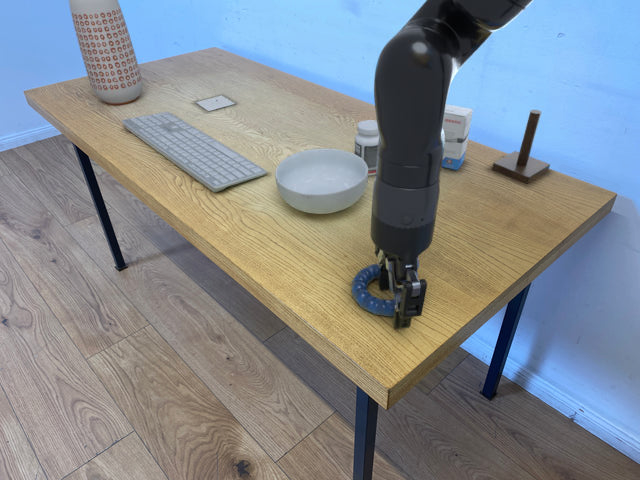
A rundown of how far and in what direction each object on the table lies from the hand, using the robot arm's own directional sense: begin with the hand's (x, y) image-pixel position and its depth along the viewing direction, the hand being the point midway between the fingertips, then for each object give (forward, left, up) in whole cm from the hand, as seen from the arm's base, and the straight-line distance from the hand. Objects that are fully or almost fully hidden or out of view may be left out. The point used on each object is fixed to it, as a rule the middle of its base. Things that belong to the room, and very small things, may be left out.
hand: (393, 306), depth 65 cm
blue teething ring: (+3, -2, 0) cm, 4 cm away
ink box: (+23, -40, -1) cm, 46 cm away
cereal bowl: (+28, -11, -1) cm, 30 cm away
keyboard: (+65, -2, -1) cm, 65 cm away
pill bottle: (+31, -26, -1) cm, 41 cm away
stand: (+10, -49, -1) cm, 50 cm away
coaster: (+85, -21, -1) cm, 88 cm away
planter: (+106, -3, -1) cm, 106 cm away
